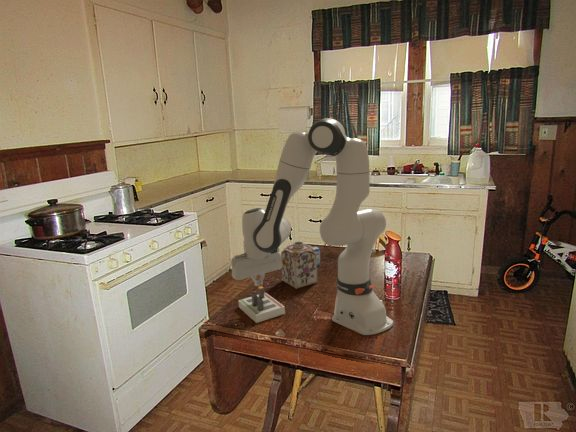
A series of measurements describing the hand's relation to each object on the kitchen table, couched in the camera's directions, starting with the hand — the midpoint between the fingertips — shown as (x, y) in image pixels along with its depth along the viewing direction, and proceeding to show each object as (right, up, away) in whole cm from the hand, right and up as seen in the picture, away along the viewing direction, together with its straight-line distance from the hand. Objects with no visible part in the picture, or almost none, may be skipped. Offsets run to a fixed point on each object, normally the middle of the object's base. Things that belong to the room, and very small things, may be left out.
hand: (258, 285), depth 162 cm
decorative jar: (+16, -3, +24) cm, 29 cm away
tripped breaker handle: (+1, -5, +3) cm, 6 cm away
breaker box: (+1, -10, -1) cm, 10 cm away
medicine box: (+23, +2, +42) cm, 48 cm away
